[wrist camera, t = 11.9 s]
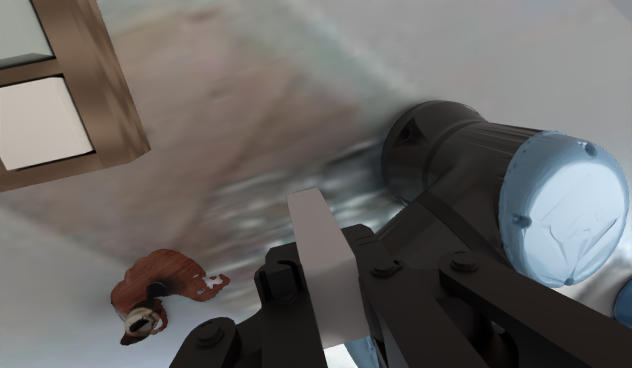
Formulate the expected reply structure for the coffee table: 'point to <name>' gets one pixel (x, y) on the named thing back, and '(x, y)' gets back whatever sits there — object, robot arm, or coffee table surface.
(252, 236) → the coffee table surface
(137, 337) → the figurine
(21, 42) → the slate key
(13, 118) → the cream key
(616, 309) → the wine bottle
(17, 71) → the frame
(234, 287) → the coffee table surface
